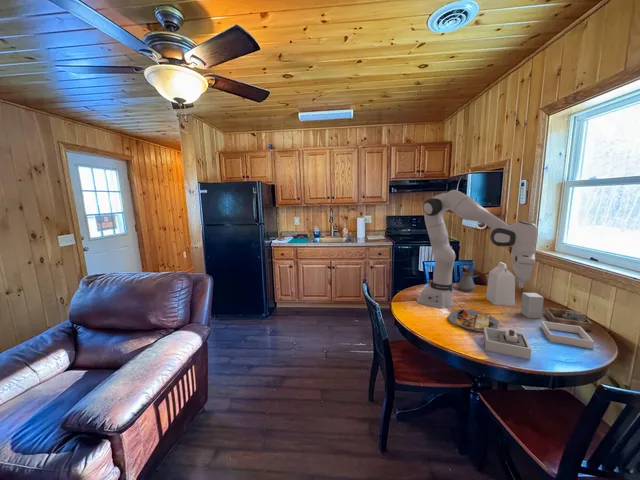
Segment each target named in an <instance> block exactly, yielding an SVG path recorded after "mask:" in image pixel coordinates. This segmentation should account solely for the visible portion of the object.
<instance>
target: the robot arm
mask: <svg viewBox="0 0 640 480" xmlns="http://www.w3.org/2000/svg"><path fill="white" fill-rule="evenodd" d="M422 210H423V215H424V222H425V223H424V224H425V226H426V231H427V235H428V237H429V243H430V246H431V251H432V254H433V256H434V259H435V262H434V268H433V275H432V277H433V278H432V279H430V280H429V286H427V287H426V288H423V289H422V291H421V293H420V295H418V296H417V297H416V302H417V304H421V305H425V306H430V307H435V308H439V309H444V308H449V307H452V306H454V301H453V289H454V287H453V286H454V285H453V271H454V270H453V269H454V265H455V260H456V258H457V257H456V252H455V251H454V249H453V248H452V247H451V245H450V240H449V232H448V230H447V226H446V222H445V219H444V216H443V215H444V213H445V212H449V211H452V212H453V213H454V214H455V215H456V216H458V217H460V218H461V219H463V220H466V221H471V222H472V221H473V222H479V223H482V224H484V225H486V226H488V227H489V228H490V229H492V231H491V232H490V236H489V238H490V241H491V243H492V244H493V245H494V246H496V247H511V254H510V259H511V260H513V261H512V266H511V267H512V271H513V272H514V276H515V282H517V283H518V287H519V288H524V287H525V284H526V281H530V279H531V276H532V271H533V269H534V267H533V266H534V265H535V264H536V251H537V250H536V244H537V243H538V235H539V231H538V230H539V229H538V228H539V227H538V226H537V225H536V224H535V223H533V222H530V221H525V220H519V221H516V222H514V223H513V224H510V223H508V222H506V221H504V220H503V219H501V218H500V217H498V216H496V215H495V214H493V212H490V211H488V209H486V208H485V207H483V206H482V205H481V204H479V203H478V202H477V201H475V200H474V199H473V198H471V197H470V196H469V195H467V194H465V193H463V192H462V191H459V190H457V189H451V190H448V191H447V192H443V193H440V194H436V195H435V196H432V197H430V198H428V199H426V200H425V201H424V202H423V204H422Z"/></svg>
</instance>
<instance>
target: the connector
mask: <svg viewBox="0 0 640 480" xmlns="http://www.w3.org/2000/svg"><path fill="white" fill-rule="evenodd" d="M508 331H509V332H505V341H510V342H516V343H517V341H518V337H517V335H516V334H515V333H514V332H516V331H515V330H514V329H509V330H508Z"/></svg>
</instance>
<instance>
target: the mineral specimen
mask: <svg viewBox="0 0 640 480" xmlns="http://www.w3.org/2000/svg"><path fill="white" fill-rule="evenodd" d="M579 312H580V311H578V312H565V314H564V315H563V317H562V319H567V320H574V321H581V322H587V320H586V319H588V318H589V316H588V314H585V313H582V312H581V313H582V314H581V313H579Z"/></svg>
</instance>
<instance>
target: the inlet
mask: <svg viewBox="0 0 640 480" xmlns="http://www.w3.org/2000/svg"><path fill="white" fill-rule="evenodd" d="M517 337H518V341H517V343H516V342H510V341H505V333H499V332H498V337H497V341H498V342H500V343H506V344H511V345H516V346H522V347H525V344H524V342H523V339H522V337H521V336H517Z"/></svg>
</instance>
